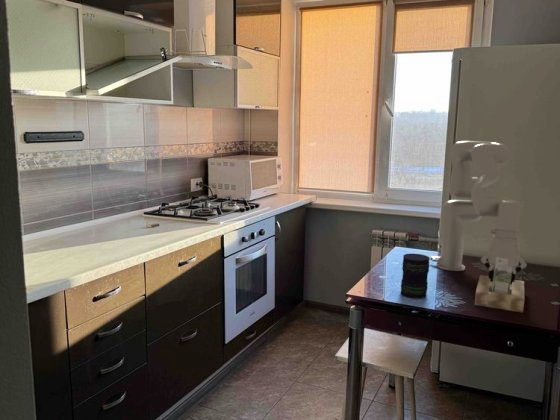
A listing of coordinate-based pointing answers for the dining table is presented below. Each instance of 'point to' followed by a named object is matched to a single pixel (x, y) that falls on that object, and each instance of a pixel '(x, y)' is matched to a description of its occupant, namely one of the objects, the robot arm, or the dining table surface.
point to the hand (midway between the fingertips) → (501, 281)
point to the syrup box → (501, 276)
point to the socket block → (500, 295)
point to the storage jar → (415, 276)
